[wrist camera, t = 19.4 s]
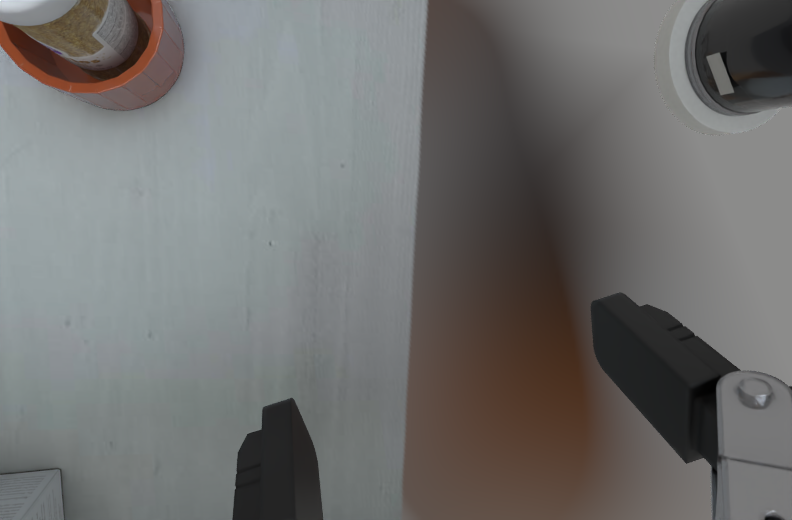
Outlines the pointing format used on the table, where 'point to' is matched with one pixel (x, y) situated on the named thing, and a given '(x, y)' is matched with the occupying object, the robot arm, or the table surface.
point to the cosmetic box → (31, 496)
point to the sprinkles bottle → (83, 31)
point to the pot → (118, 93)
